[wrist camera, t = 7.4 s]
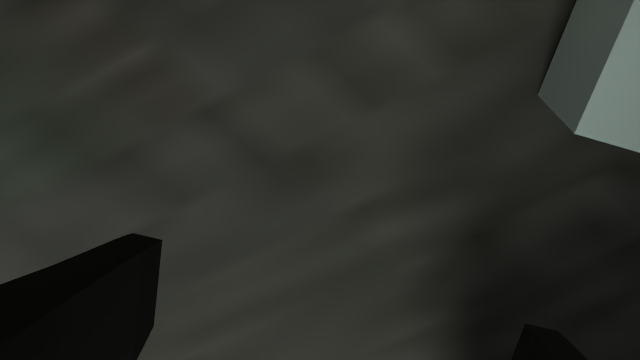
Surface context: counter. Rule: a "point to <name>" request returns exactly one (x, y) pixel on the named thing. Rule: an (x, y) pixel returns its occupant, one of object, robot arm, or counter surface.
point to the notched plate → (598, 73)
